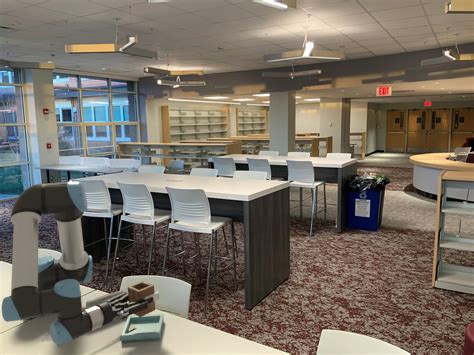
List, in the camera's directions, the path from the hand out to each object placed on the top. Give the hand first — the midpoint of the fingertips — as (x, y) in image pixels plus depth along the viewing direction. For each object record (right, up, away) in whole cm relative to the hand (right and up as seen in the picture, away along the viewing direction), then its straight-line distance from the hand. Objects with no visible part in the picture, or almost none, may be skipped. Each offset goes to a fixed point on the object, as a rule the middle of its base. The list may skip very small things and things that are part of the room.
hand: (152, 292), depth 149 cm
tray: (-3, -15, -1) cm, 15 cm away
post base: (-34, -16, -3) cm, 38 cm away
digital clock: (-20, -14, +8) cm, 25 cm away
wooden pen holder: (-3, -6, -3) cm, 7 cm away
